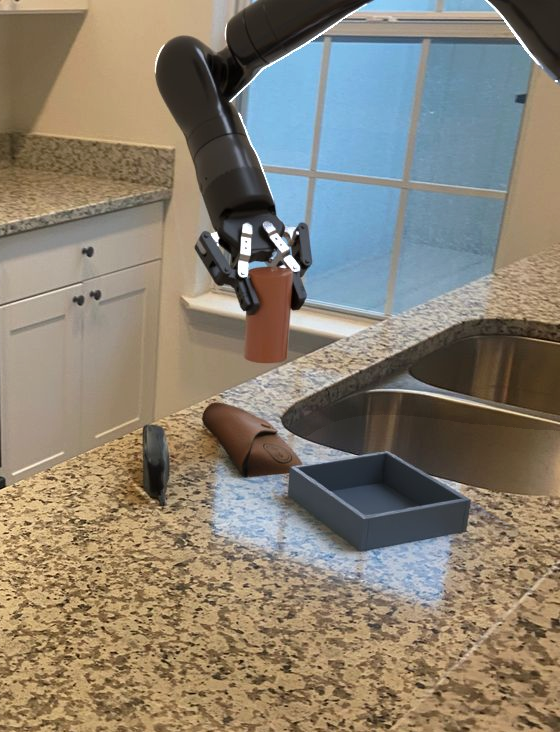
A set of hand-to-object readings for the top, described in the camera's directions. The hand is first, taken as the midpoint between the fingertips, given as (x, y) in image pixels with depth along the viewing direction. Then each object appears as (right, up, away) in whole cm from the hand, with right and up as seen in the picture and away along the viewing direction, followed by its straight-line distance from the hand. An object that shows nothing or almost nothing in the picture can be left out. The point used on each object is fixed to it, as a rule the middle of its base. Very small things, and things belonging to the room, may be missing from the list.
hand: (276, 308), depth 115 cm
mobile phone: (-13, -20, +3) cm, 24 cm away
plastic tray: (+8, -24, -8) cm, 26 cm away
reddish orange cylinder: (0, -5, +4) cm, 6 cm away
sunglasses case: (-1, -16, +11) cm, 19 cm away
